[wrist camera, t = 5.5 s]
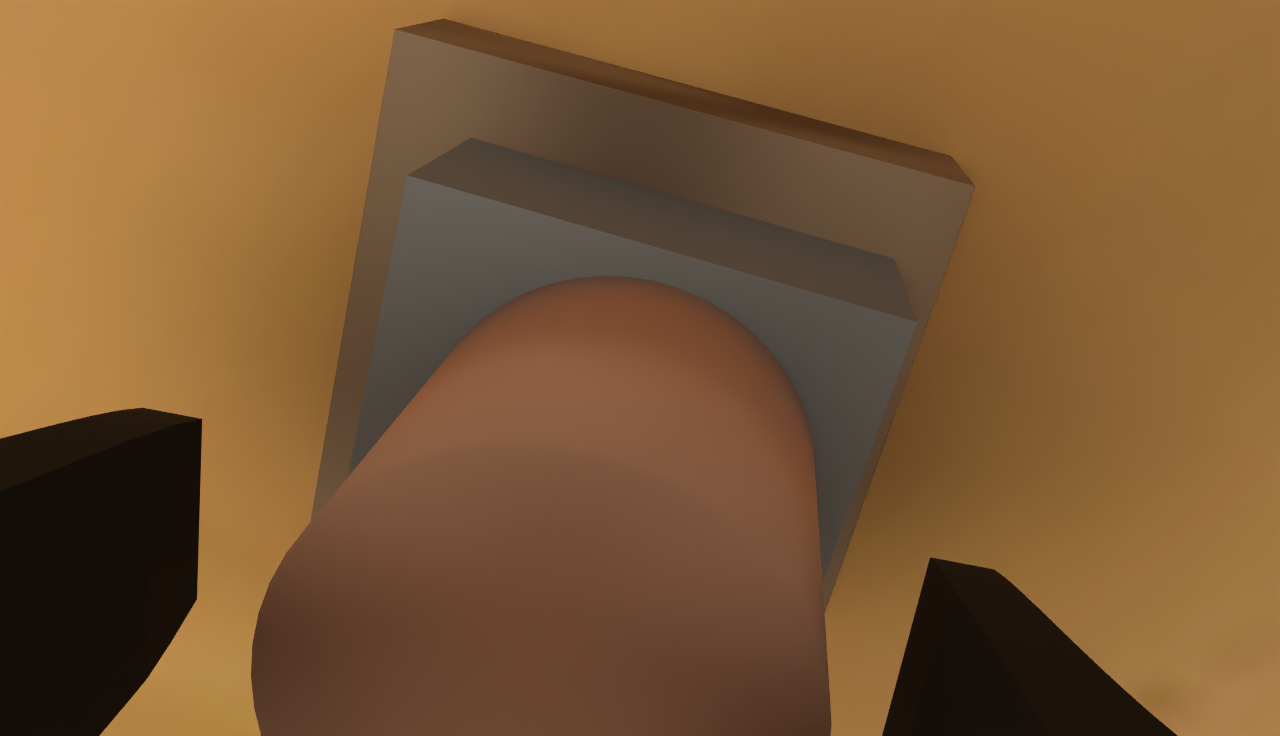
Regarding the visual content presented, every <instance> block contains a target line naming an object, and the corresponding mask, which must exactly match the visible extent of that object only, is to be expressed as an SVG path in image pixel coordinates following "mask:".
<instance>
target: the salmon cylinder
mask: <svg viewBox="0 0 1280 736" xmlns="http://www.w3.org/2000/svg"><path fill="white" fill-rule="evenodd" d="M251 680H252V689H253V699H254V708H255V712H256V716H257V720H258V724H259V728H260V732H261V736H830V734H831V710H830V694H829V679H828V663H827V648H826V632H825V617H824V601H823V585H822V570H821V554H820V539H819V523H818V507H817V492H816V476H815V461H814V448H813V441H812V436H811V432H810V427H809V423H808V419H807V416H806V414H805V411H804V408H803V405H802V403H801V400H800V397H799V395H798V393H797V391H796V390H795V388H794V386H793V384H792V382H791V380H790V378H789V376H788V375H787V373H786V372H785V370H784V369H783V367H782V366H781V365H780V363H779V362H778V361H777V359H776V358H775V356H774V355H773V354H772V352H771V351H770V350H769V349H768V348H767V347H766V346H765V345H764V344H763V343H762V342H761V341H760V340H759V339H758V338H757V336H756V335H755V334H754V333H753V332H751V331H750V330H749V329H748V328H746V327H745V326H744V325H743V324H742V323H740V322H739V321H738V320H737V319H735V318H734V317H733V316H732V315H730V314H728V313H727V312H725V311H723V310H722V309H720V308H719V307H717V306H715V305H714V304H712V303H710V302H709V301H707V300H705V299H702V298H700V297H698V296H696V295H693V294H691V293H689V292H687V291H685V290H682V289H679V288H675V287H672V286H669V285H666V284H662V283H659V282H655V281H649V280H644V279H638V278H632V277H615V276H596V277H584V278H575V279H570V280H565V281H561V282H556V283H552V284H548V285H545V286H543V287H540V288H537V289H534V290H532V291H529V292H526V293H524V294H522V295H520V296H518V297H516V298H514V299H513V300H511V301H509V302H507V303H505V304H503V305H502V306H500V307H499V308H497V309H496V310H495V311H493V312H492V313H490V314H489V315H487V316H486V317H485V318H483V319H482V320H481V321H480V322H479V323H478V324H477V325H476V326H475V327H474V328H473V329H471V330H470V331H469V332H468V333H467V334H466V335H465V336H464V337H463V339H462V340H461V341H460V342H459V343H458V345H457V346H456V347H455V348H454V349H453V351H452V352H451V353H450V354H449V355H448V357H447V358H446V359H445V360H444V362H443V363H442V364H441V365H440V366H439V368H438V369H437V370H436V371H435V372H434V374H433V375H432V376H431V377H430V378H429V380H428V381H427V382H426V383H425V385H424V386H423V387H422V388H421V389H420V391H419V392H418V393H417V394H416V395H415V397H414V398H413V399H412V400H411V402H410V403H409V404H408V405H407V406H406V408H405V409H404V410H403V411H402V412H401V414H400V415H399V416H398V417H397V418H396V420H395V421H394V422H393V423H392V425H391V426H390V427H389V428H388V429H387V431H386V432H385V433H384V434H383V435H382V437H381V438H380V439H379V440H378V441H377V443H376V444H375V445H374V446H373V448H372V449H371V450H370V451H369V452H368V454H367V455H366V456H365V457H364V458H363V460H362V461H361V462H360V463H359V464H358V466H357V467H356V468H355V469H354V471H353V472H352V473H351V474H350V475H349V477H348V478H347V479H346V480H345V481H344V483H343V484H342V485H341V486H340V487H339V489H338V490H337V491H336V492H335V494H334V495H333V496H332V497H331V498H330V500H329V501H328V502H327V503H326V504H325V506H324V507H323V508H322V509H321V511H320V512H319V513H318V514H317V515H316V517H315V518H314V519H313V520H312V521H311V523H310V524H309V525H308V526H307V527H306V529H305V530H304V531H303V533H302V534H301V535H300V536H299V538H298V539H297V540H296V541H295V543H294V544H293V545H292V547H291V548H290V549H289V550H288V552H287V553H286V555H285V556H284V558H283V560H282V562H281V563H280V565H279V567H278V569H277V571H276V572H275V574H274V576H273V578H272V580H271V581H270V584H269V586H268V589H267V592H266V595H265V597H264V600H263V603H262V605H261V608H260V611H259V614H258V619H257V624H256V629H255V634H254V639H253V646H252V668H251Z"/></svg>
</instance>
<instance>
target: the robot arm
mask: <svg viewBox="0 0 1280 736" xmlns="http://www.w3.org/2000/svg"><path fill="white" fill-rule="evenodd" d="M201 438H202V419H199V418H194V417H188V416H183V415H178V414H173V413H167V412H162V411H157V410H152V409H146V408H137V409H127V410H120V411H114V412H109V413H104V414H99V415H94V416H89V417H85V418H81V419H76V420H72V421H68V422H64V423H60V424H56V425H52V426H48V427H44V428H40V429H36V430H32V431H29V432H25V433H21V434H17V435H13V436H9V437H5V438H1V439H0V736H99V735H100V734H101V733H102V732H103V731H104V729H105V728H106V727H107V726H108V725H109V723H110V722H111V721H112V720H113V719H114V718H115V716H116V715H117V714H118V713H119V712H120V710H121V709H122V708H123V707H124V706H125V705H126V703H127V702H128V701H129V700H130V699H131V697H132V696H133V695H134V694H135V693H136V691H137V690H138V689H139V688H140V686H141V685H142V684H143V683H144V682H145V680H146V679H147V678H148V676H149V675H150V673H151V672H152V670H153V669H154V667H155V666H156V664H157V663H158V661H159V660H160V658H161V657H162V655H163V654H164V652H165V650H166V649H167V647H168V646H169V644H170V643H171V641H172V640H173V638H174V636H175V635H176V633H177V631H178V630H179V628H180V626H181V625H182V623H183V621H184V620H185V618H186V616H187V615H188V613H189V611H190V610H191V608H192V606H193V605H194V603H195V601H196V600H197V577H198V542H199V508H200V473H201ZM882 736H1177V735H1176V734H1175V733H1174V732H1172V731H1171V730H1170V729H1169V728H1168V727H1166V726H1165V725H1164V724H1163V723H1162V722H1160V721H1159V720H1158V719H1157V718H1156V717H1155V716H1153V715H1152V714H1151V713H1150V712H1149V711H1148V710H1146V709H1145V708H1144V707H1143V706H1142V705H1141V704H1140V703H1139V702H1137V701H1136V700H1135V699H1134V698H1133V697H1132V696H1131V695H1130V694H1128V693H1127V692H1126V691H1125V690H1124V689H1123V688H1122V687H1121V686H1120V685H1118V684H1117V683H1116V682H1115V681H1114V680H1113V679H1112V678H1111V677H1110V676H1109V675H1108V674H1106V673H1105V672H1104V671H1103V670H1102V669H1101V668H1100V667H1099V666H1098V665H1097V664H1096V663H1095V662H1094V661H1093V660H1092V659H1091V658H1089V657H1088V656H1087V655H1086V654H1085V653H1084V652H1083V651H1082V650H1081V649H1080V648H1079V647H1078V646H1077V645H1076V644H1075V643H1074V642H1073V641H1072V640H1071V639H1070V638H1069V637H1068V636H1067V635H1065V634H1064V633H1063V632H1062V631H1061V630H1060V629H1059V628H1058V627H1057V626H1056V625H1055V624H1054V623H1053V622H1052V621H1051V620H1050V619H1049V618H1048V617H1047V616H1046V615H1045V614H1044V613H1043V612H1042V611H1041V610H1040V609H1039V608H1038V607H1037V606H1036V605H1035V604H1033V603H1032V602H1031V601H1030V600H1029V599H1028V598H1027V597H1026V596H1025V595H1024V594H1023V593H1022V592H1021V591H1020V590H1019V589H1017V588H1016V587H1015V586H1014V585H1013V584H1012V583H1011V582H1010V581H1008V580H1007V579H1006V578H1005V577H1004V576H1002V575H1001V574H1000V573H998V572H997V571H996V570H993V569H988V568H983V567H978V566H972V565H967V564H962V563H957V562H951V561H946V560H941V559H936V558H930V560H929V564H928V568H927V571H926V575H925V579H924V583H923V586H922V590H921V594H920V597H919V601H918V605H917V609H916V612H915V616H914V620H913V623H912V627H911V631H910V635H909V638H908V642H907V646H906V649H905V653H904V657H903V661H902V664H901V668H900V672H899V675H898V679H897V683H896V687H895V690H894V694H893V698H892V701H891V705H890V709H889V713H888V716H887V720H886V724H885V727H884V731H883V735H882Z"/></svg>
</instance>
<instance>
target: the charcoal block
mask: <svg viewBox="0 0 1280 736" xmlns="http://www.w3.org/2000/svg"><path fill="white" fill-rule="evenodd" d="M596 276H615V277H632V278H638V279H644V280H649V281H655V282H659V283H662V284H666V285H669V286H672V287H675V288H679V289H682V290H685V291H687V292H689V293H691V294H693V295H696V296H698V297H700V298H702V299H705V300H707V301H709V302H710V303H712V304H714V305H715V306H717V307H719V308H720V309H722V310H723V311H725V312H727V313H728V314H730V315H732V316H733V317H734V318H735V319H737V320H738V321H739V322H740V323H742V324H743V325H744V326H745V327H746V328H748V329H749V330H750V331H751V332H753V333H754V334H755V335H756V336H757V338H758V339H759V340H760V341H761V342H762V343H763V344H764V345H765V346H766V347H767V348H768V349H769V350H770V351H771V352H772V354H773V355H774V356H775V358H776V359H777V361H778V362H779V363H780V365H781V366H782V367H783V369H784V370H785V372H786V373H787V375H788V376H789V378H790V380H791V382H792V384H793V386H794V388H795V390H796V391H797V393H798V395H799V397H800V400H801V403H802V405H803V408H804V411H805V414H806V416H807V419H808V423H809V427H810V432H811V436H812V441H813V448H814V461H815V476H816V492H817V507H818V523H819V539H820V554H821V570H822V583H823V580H824V577H825V574H826V572H827V569H828V566H829V563H830V561H831V558H832V555H833V552H834V550H835V547H836V544H837V541H838V539H839V536H840V533H841V530H842V528H843V525H844V522H845V520H846V517H847V514H848V511H849V509H850V506H851V503H852V500H853V498H854V495H855V492H856V489H857V487H858V484H859V481H860V478H861V476H862V473H863V470H864V468H865V465H866V462H867V459H868V457H869V454H870V451H871V448H872V446H873V443H874V440H875V437H876V435H877V432H878V429H879V426H880V424H881V421H882V418H883V416H884V413H885V410H886V407H887V405H888V402H889V399H890V396H891V394H892V391H893V388H894V385H895V383H896V380H897V377H898V374H899V372H900V369H901V366H902V364H903V361H904V358H905V355H906V353H907V350H908V347H909V344H910V342H911V339H912V336H913V333H914V331H915V328H916V325H917V319H916V317H915V314H914V311H913V309H912V306H911V303H910V300H909V298H908V295H907V292H906V289H905V287H904V284H903V281H902V278H901V276H900V273H899V270H898V268H897V265H896V262H895V259H893V258H890V257H886V256H883V255H879V254H876V253H872V252H869V251H865V250H862V249H858V248H855V247H851V246H848V245H844V244H841V243H837V242H834V241H830V240H827V239H823V238H820V237H816V236H813V235H809V234H806V233H802V232H799V231H795V230H792V229H788V228H785V227H781V226H778V225H774V224H771V223H767V222H764V221H760V220H757V219H753V218H750V217H746V216H743V215H739V214H736V213H733V212H729V211H726V210H722V209H719V208H715V207H712V206H708V205H705V204H701V203H698V202H694V201H691V200H687V199H684V198H680V197H677V196H673V195H670V194H666V193H663V192H659V191H656V190H652V189H649V188H645V187H642V186H638V185H635V184H631V183H628V182H624V181H621V180H617V179H614V178H610V177H607V176H603V175H600V174H596V173H593V172H589V171H586V170H582V169H579V168H575V167H572V166H568V165H565V164H561V163H558V162H554V161H551V160H547V159H544V158H541V157H537V156H534V155H530V154H527V153H523V152H520V151H516V150H513V149H509V148H506V147H502V146H499V145H495V144H492V143H488V142H485V141H481V140H478V139H474V138H470V139H468V140H466V141H465V142H463V143H461V144H459V145H458V146H456V147H454V148H453V149H451V150H449V151H448V152H446V153H444V154H443V155H441V156H439V157H437V158H436V159H434V160H432V161H431V162H429V163H427V164H426V165H424V166H422V167H420V168H419V169H417V170H415V171H414V172H412V173H410V174H409V175H407V179H406V184H405V189H404V194H403V199H402V204H401V210H400V215H399V220H398V225H397V230H396V235H395V240H394V245H393V250H392V255H391V260H390V265H389V270H388V275H387V280H386V285H385V291H384V296H383V301H382V306H381V311H380V316H379V321H378V326H377V331H376V336H375V341H374V346H373V351H372V356H371V361H370V366H369V372H368V377H367V382H366V387H365V392H364V397H363V402H362V407H361V412H360V417H359V422H358V427H357V432H356V437H355V442H354V448H353V453H352V458H351V463H350V468H349V473H348V477H349V475H350V474H351V473H352V472H353V471H354V469H355V468H356V467H357V466H358V464H359V463H360V462H361V461H362V460H363V458H364V457H365V456H366V455H367V454H368V452H369V451H370V450H371V449H372V448H373V446H374V445H375V444H376V443H377V441H378V440H379V439H380V438H381V437H382V435H383V434H384V433H385V432H386V431H387V429H388V428H389V427H390V426H391V425H392V423H393V422H394V421H395V420H396V418H397V417H398V416H399V415H400V414H401V412H402V411H403V410H404V409H405V408H406V406H407V405H408V404H409V403H410V402H411V400H412V399H413V398H414V397H415V395H416V394H417V393H418V392H419V391H420V389H421V388H422V387H423V386H424V385H425V383H426V382H427V381H428V380H429V378H430V377H431V376H432V375H433V374H434V372H435V371H436V370H437V369H438V368H439V366H440V365H441V364H442V363H443V362H444V360H445V359H446V358H447V357H448V355H449V354H450V353H451V352H452V351H453V349H454V348H455V347H456V346H457V345H458V343H459V342H460V341H461V340H462V339H463V337H464V336H465V335H466V334H467V333H468V332H469V331H470V330H471V329H473V328H474V327H475V326H476V325H477V324H478V323H479V322H480V321H481V320H482V319H483V318H485V317H486V316H487V315H489V314H490V313H492V312H493V311H495V310H496V309H497V308H499V307H500V306H502V305H503V304H505V303H507V302H509V301H511V300H513V299H514V298H516V297H518V296H520V295H522V294H524V293H526V292H529V291H532V290H534V289H537V288H540V287H543V286H545V285H548V284H552V283H556V282H561V281H565V280H570V279H575V278H584V277H596Z"/></svg>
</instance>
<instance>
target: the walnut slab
mask: <svg viewBox="0 0 1280 736" xmlns="http://www.w3.org/2000/svg"><path fill="white" fill-rule="evenodd" d="M470 138H474V139H478V140H481V141H485V142H488V143H492V144H495V145H499V146H502V147H506V148H509V149H513V150H516V151H520V152H523V153H527V154H530V155H534V156H537V157H541V158H544V159H547V160H551V161H554V162H558V163H561V164H565V165H568V166H572V167H575V168H579V169H582V170H586V171H589V172H593V173H596V174H600V175H603V176H607V177H610V178H614V179H617V180H621V181H624V182H628V183H631V184H635V185H638V186H642V187H645V188H649V189H652V190H656V191H659V192H663V193H666V194H670V195H673V196H677V197H680V198H684V199H687V200H691V201H694V202H698V203H701V204H705V205H708V206H712V207H715V208H719V209H722V210H726V211H729V212H733V213H736V214H739V215H743V216H746V217H750V218H753V219H757V220H760V221H764V222H767V223H771V224H774V225H778V226H781V227H785V228H788V229H792V230H795V231H799V232H802V233H806V234H809V235H813V236H816V237H820V238H823V239H827V240H830V241H834V242H837V243H841V244H844V245H848V246H851V247H855V248H858V249H862V250H865V251H869V252H872V253H876V254H879V255H883V256H886V257H890V258H893V259H895V262H896V265H897V268H898V270H899V273H900V276H901V278H902V281H903V284H904V287H905V289H906V292H907V295H908V298H909V300H910V303H911V306H912V309H913V311H914V314H915V317H916V319H917V325H916V328H915V331H914V333H913V336H912V339H911V342H910V344H909V347H908V350H907V353H906V355H905V358H904V361H903V364H902V366H901V369H900V372H899V374H898V377H897V380H896V383H895V385H894V388H893V391H892V394H891V396H890V399H889V402H888V405H887V407H886V410H885V413H884V416H883V418H882V421H881V424H880V426H879V429H878V432H877V435H876V437H875V440H874V443H873V446H872V448H871V451H870V454H869V457H868V459H867V462H866V465H865V468H864V470H863V473H862V476H861V478H860V481H859V484H858V487H857V489H856V492H855V495H854V498H853V500H852V503H851V506H850V509H849V511H848V514H847V517H846V520H845V522H844V525H843V528H842V530H841V533H840V536H839V539H838V541H837V544H836V547H835V550H834V552H833V555H832V558H831V561H830V563H829V566H828V569H827V572H826V574H825V577H824V580H823V583H822V585H823V601H824V613H825V610H826V607H827V604H828V601H829V599H830V596H831V593H832V590H833V587H834V585H835V582H836V579H837V576H838V573H839V570H840V568H841V565H842V562H843V559H844V556H845V553H846V551H847V548H848V545H849V542H850V539H851V537H852V534H853V531H854V528H855V525H856V522H857V520H858V517H859V514H860V511H861V508H862V505H863V503H864V500H865V497H866V494H867V491H868V488H869V486H870V483H871V480H872V477H873V474H874V472H875V469H876V466H877V463H878V460H879V457H880V455H881V452H882V449H883V446H884V443H885V440H886V438H887V435H888V432H889V429H890V426H891V424H892V421H893V418H894V415H895V412H896V409H897V407H898V404H899V401H900V398H901V395H902V392H903V390H904V387H905V384H906V381H907V378H908V376H909V373H910V370H911V367H912V364H913V361H914V359H915V356H916V353H917V350H918V347H919V344H920V342H921V339H922V336H923V333H924V330H925V328H926V325H927V322H928V319H929V316H930V313H931V311H932V308H933V305H934V302H935V299H936V296H937V294H938V291H939V288H940V285H941V282H942V280H943V277H944V274H945V271H946V268H947V265H948V263H949V260H950V257H951V254H952V251H953V248H954V246H955V243H956V240H957V237H958V234H959V232H960V229H961V226H962V223H963V220H964V217H965V215H966V212H967V209H968V206H969V203H970V200H971V198H972V195H973V192H974V189H975V185H974V184H973V183H972V182H971V180H970V179H969V178H968V177H967V175H966V174H965V173H964V172H963V171H962V169H961V168H960V167H959V166H958V164H957V163H956V162H955V161H954V159H953V158H952V157H951V156H948V155H945V154H941V153H937V152H934V151H930V150H926V149H922V148H919V147H915V146H911V145H908V144H904V143H900V142H897V141H893V140H889V139H886V138H882V137H878V136H874V135H871V134H867V133H863V132H860V131H856V130H852V129H849V128H845V127H841V126H837V125H834V124H830V123H826V122H823V121H819V120H815V119H812V118H808V117H804V116H801V115H797V114H793V113H789V112H786V111H782V110H778V109H775V108H771V107H767V106H764V105H760V104H756V103H752V102H749V101H745V100H741V99H738V98H734V97H730V96H727V95H723V94H719V93H716V92H712V91H708V90H704V89H701V88H697V87H693V86H690V85H686V84H682V83H679V82H675V81H671V80H668V79H664V78H660V77H656V76H653V75H649V74H645V73H642V72H638V71H634V70H631V69H627V68H623V67H619V66H616V65H612V64H608V63H605V62H601V61H597V60H594V59H590V58H586V57H583V56H579V55H575V54H571V53H568V52H564V51H560V50H557V49H553V48H549V47H546V46H542V45H538V44H534V43H531V42H527V41H523V40H520V39H516V38H512V37H509V36H505V35H501V34H498V33H494V32H490V31H486V30H483V29H479V28H475V27H472V26H468V25H464V24H461V23H457V22H453V21H449V20H446V19H440V20H436V21H431V22H426V23H422V24H417V25H412V26H408V27H403V28H399V29H395V31H394V37H393V43H392V49H391V55H390V61H389V66H388V72H387V78H386V84H385V90H384V96H383V101H382V107H381V113H380V119H379V125H378V131H377V137H376V142H375V148H374V154H373V160H372V166H371V172H370V178H369V183H368V189H367V195H366V201H365V207H364V213H363V218H362V224H361V230H360V236H359V242H358V248H357V254H356V259H355V265H354V271H353V277H352V283H351V289H350V295H349V300H348V306H347V312H346V318H345V324H344V330H343V335H342V341H341V347H340V353H339V359H338V365H337V371H336V376H335V382H334V388H333V394H332V400H331V406H330V412H329V417H328V423H327V429H326V435H325V441H324V447H323V453H322V458H321V464H320V470H319V476H318V482H317V488H316V493H315V499H314V505H313V511H312V517H311V521H312V520H313V519H314V518H315V517H316V515H317V514H318V513H319V512H320V511H321V509H322V508H323V507H324V506H325V504H326V503H327V502H328V501H329V500H330V498H331V497H332V496H333V495H334V494H335V492H336V491H337V490H338V489H339V487H340V486H341V485H342V484H343V483H344V481H345V480H346V479H347V478H348V473H349V468H350V463H351V458H352V453H353V448H354V442H355V437H356V432H357V427H358V422H359V417H360V412H361V407H362V402H363V397H364V392H365V387H366V382H367V377H368V372H369V366H370V361H371V356H372V351H373V346H374V341H375V336H376V331H377V326H378V321H379V316H380V311H381V306H382V301H383V296H384V291H385V285H386V280H387V275H388V270H389V265H390V260H391V255H392V250H393V245H394V240H395V235H396V230H397V225H398V220H399V215H400V210H401V204H402V199H403V194H404V189H405V184H406V179H407V175H409V174H410V173H412V172H414V171H415V170H417V169H419V168H420V167H422V166H424V165H426V164H427V163H429V162H431V161H432V160H434V159H436V158H437V157H439V156H441V155H443V154H444V153H446V152H448V151H449V150H451V149H453V148H454V147H456V146H458V145H459V144H461V143H463V142H465V141H466V140H468V139H470Z"/></svg>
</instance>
